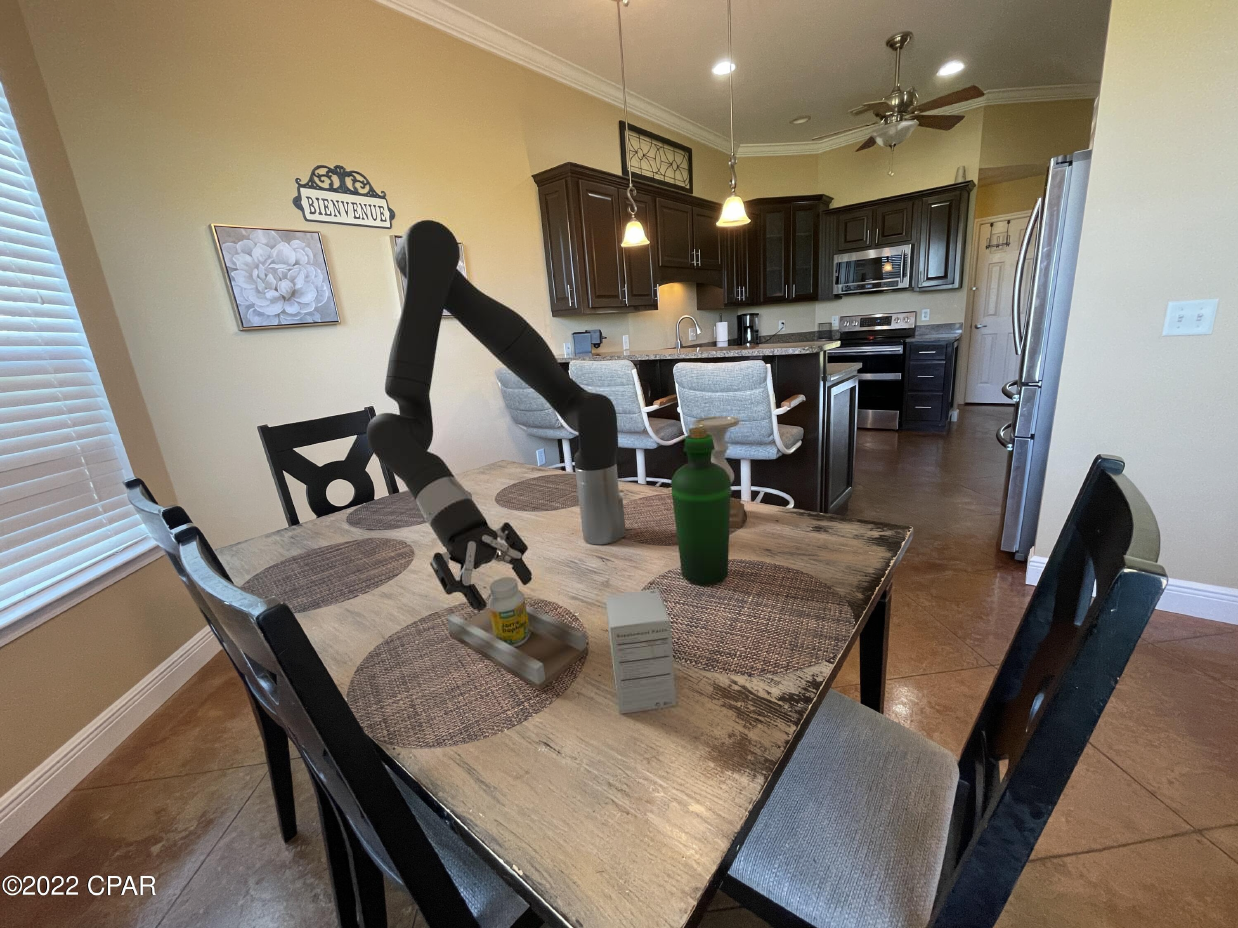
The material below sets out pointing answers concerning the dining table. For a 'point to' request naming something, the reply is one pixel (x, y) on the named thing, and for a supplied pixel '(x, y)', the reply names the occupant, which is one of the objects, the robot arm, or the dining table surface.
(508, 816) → the dining table surface
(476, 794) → the dining table surface
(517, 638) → the supplement bottle
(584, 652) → the walnut track
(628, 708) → the supplement box
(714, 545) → the bottle
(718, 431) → the candle holder
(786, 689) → the dining table surface
